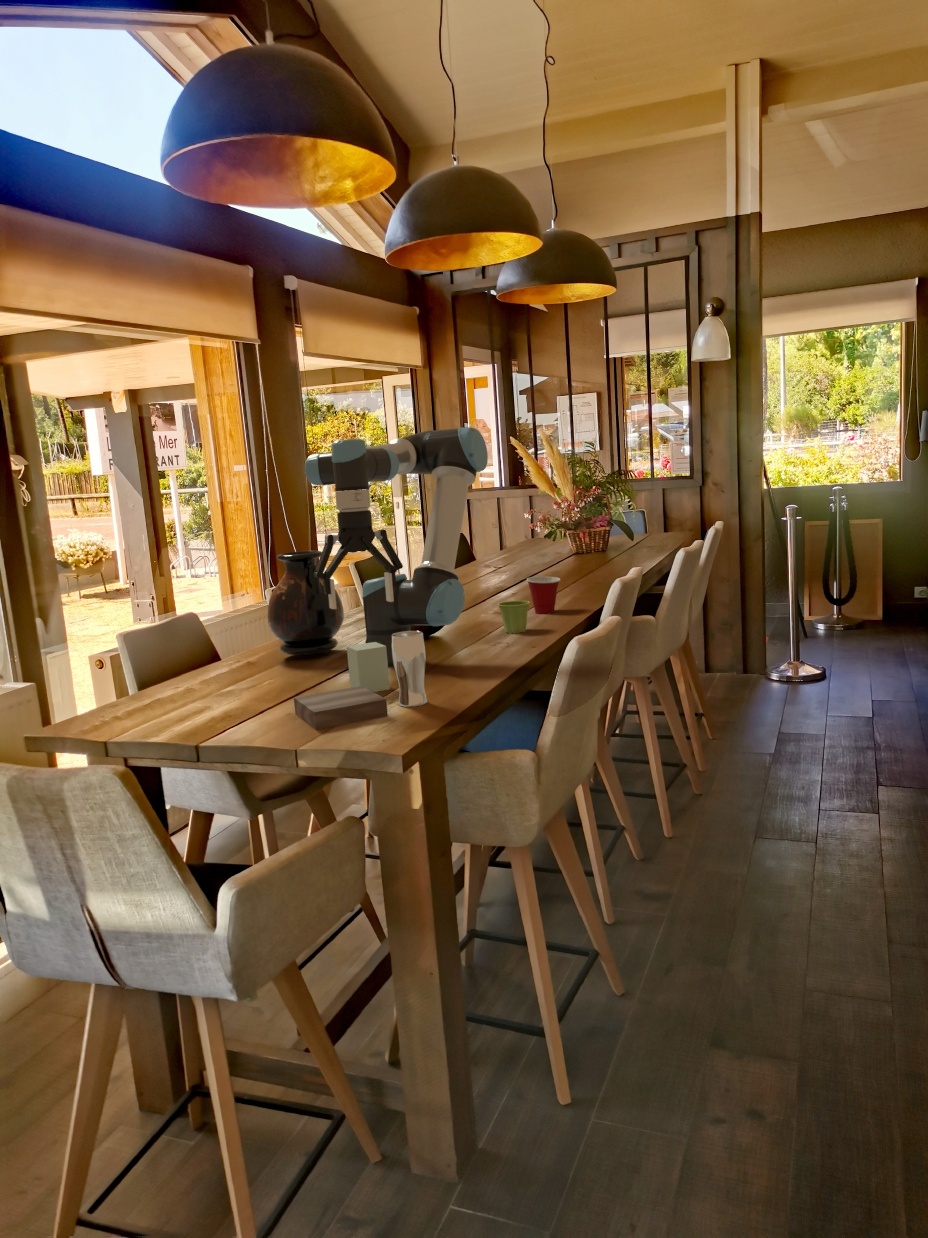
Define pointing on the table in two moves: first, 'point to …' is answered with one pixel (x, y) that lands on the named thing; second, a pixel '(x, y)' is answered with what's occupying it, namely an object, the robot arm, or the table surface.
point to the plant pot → (514, 615)
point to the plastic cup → (543, 593)
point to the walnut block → (340, 707)
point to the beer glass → (409, 667)
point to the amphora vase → (303, 607)
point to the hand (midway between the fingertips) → (361, 605)
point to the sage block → (368, 666)
